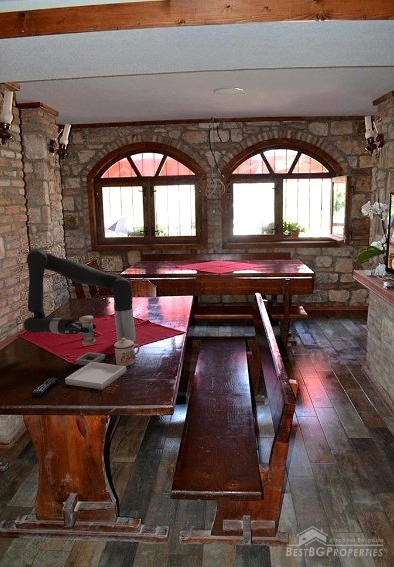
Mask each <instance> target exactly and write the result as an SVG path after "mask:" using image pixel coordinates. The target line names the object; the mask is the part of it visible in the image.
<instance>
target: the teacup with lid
mask: <svg viewBox="0 0 394 567" xmlns="http://www.w3.org/2000/svg"><path fill="white" fill-rule="evenodd" d="M113 347H114V353H115V354H114V355H115V363H116V364H115V365H121V366H126V367H128V366H131V365H133V364H134V363H136V355H138V354H139V352H140V349H141V346H140V345H139V344H137V343H135V341H134V342H133V341H131V340H127V339H126V338H122V339H121V340H120V341H118V342H117V341H116V342H115V343H114V345H113ZM135 347H137V349H136V352H135Z"/></svg>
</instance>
